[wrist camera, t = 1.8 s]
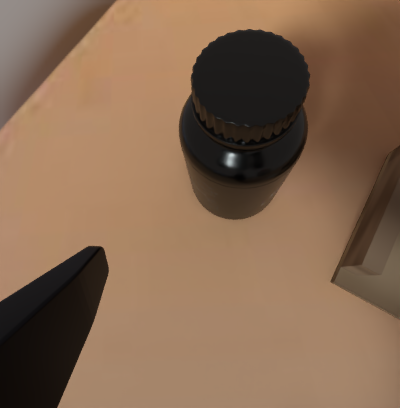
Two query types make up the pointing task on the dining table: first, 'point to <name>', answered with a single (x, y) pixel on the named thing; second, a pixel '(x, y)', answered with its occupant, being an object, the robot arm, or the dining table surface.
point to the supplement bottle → (244, 121)
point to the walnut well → (376, 244)
